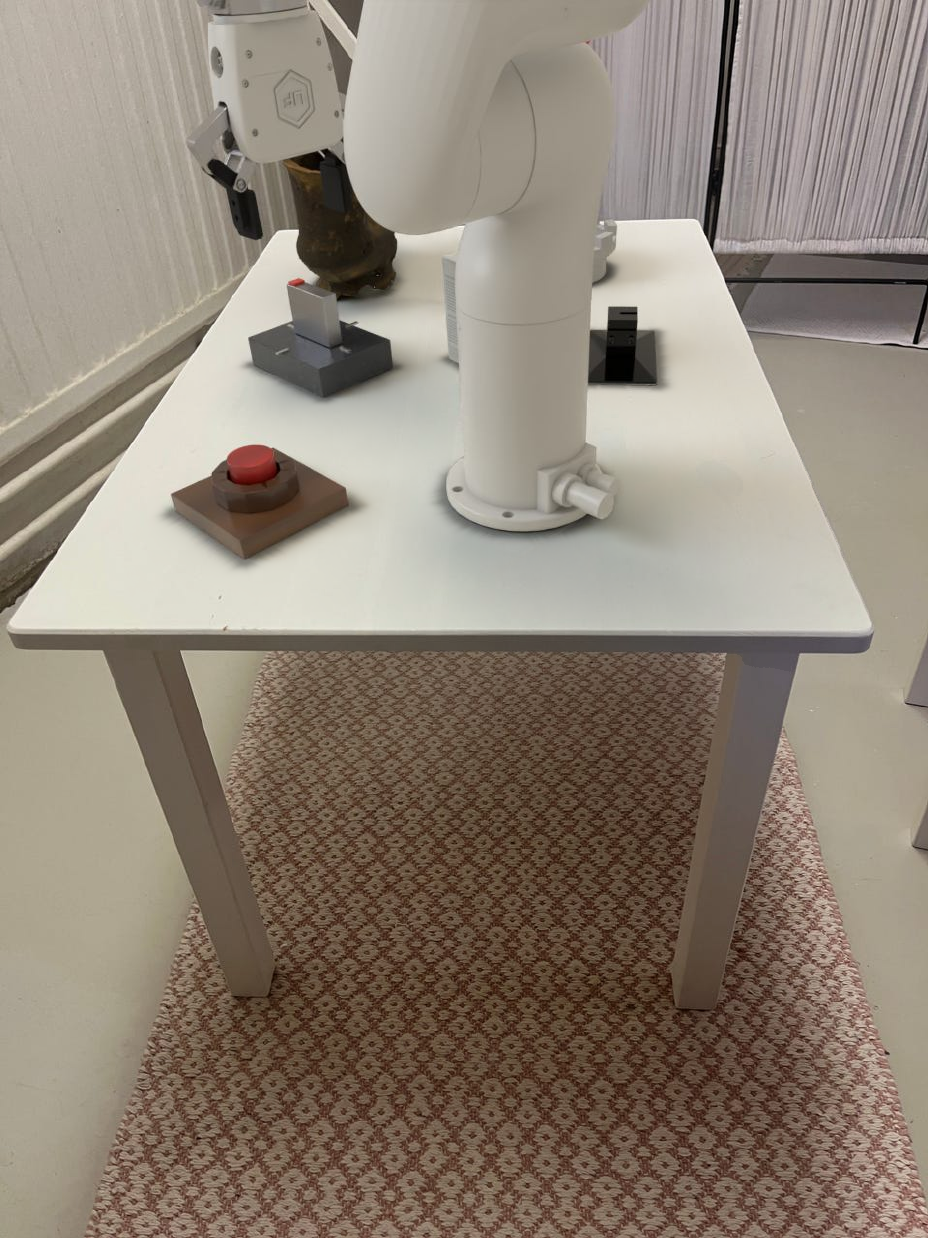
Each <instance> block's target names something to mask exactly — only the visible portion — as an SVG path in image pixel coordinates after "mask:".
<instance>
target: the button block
mask: <svg viewBox="0 0 928 1238" xmlns="http://www.w3.org/2000/svg"><path fill="white" fill-rule="evenodd" d="M270 448H271V449H272V450H273V452H274V457H275V462H276V467H277V475H276V476H275V477H274V478H272V479H270V480H268V481H266V482H264V483H260V484H254V485H239V484H235V483H234V482H233V481H232V480H231V476H230V471H229V467H228V463H227V459H225V460H222V461H221V462H220V463H219V464H218V465H217V466H216V467H215V468H214V469H213V471H211V473H210V475H208V476H207V477H204V478H203V479H200V480H198V481H196V482H194V483H191V484H189V485H187V486H185V487H183V488H181V489H179V490H176V491H174V492H172V493H170V496H171V497H170V498H171V501H172V504H173V507H174V511H175V512H176V513H177V514H179V515H180V516H181V517H183V518H184V519H186V520H187V521H189V522H190V523H192V524H193V525H194V526H196V528H198V529H200V530H202V531H203V532H205V533H206V534H208V535H209V536H210V537H212V538H213V539H215V540H216V541H217V542H219V543H220V544H221V545H223V546H225V547H226V548H227V549H228V550H230V551H232V552H233V553H234V554H236V555H237V556H239V557H240V558H242V559H243V560H246V559H248V558H250V557H251V556H254V555H256V554H258V553H260V552H261V551H264V550H265V549H267V548H270V547H272V546H274V545H275V544H277V543H279V542H281V541H283V540H284V539H287V538H288V537H291V536H292V535H294V534H297V533H298V532H300V531H302V530H304V529H306V528H308V527H309V526H312V525H313V524H315V523H317V522H319V521H321V520H323V519H325V518H326V517H329V516H331V515H333V514H334V513H337V512H338V511H341V510H342V509H344V508H346V507H348V506H349V500H348V492H347V487H346V486H344V485H342V484H340V483H338V482H336V481H334V480H333V479H331V478H329V477H328V476H326V475H323V474H322V473H320V472H318V471H316V470H315V469H313V468H311V467H309V466H307V465H306V464H304V463H302V462H300V461H298V460H297V459H295V458H293V457H292V456H289V455H288V454H286V453H284V452H282V451H280V450H279V449H277V448H275V447H270Z"/></svg>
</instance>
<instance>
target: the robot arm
mask: <svg viewBox="0 0 928 1238" xmlns="http://www.w3.org/2000/svg"><path fill="white" fill-rule="evenodd" d="M195 1H196V3H197V5H198V6H199V7H201V8H202V7H208V8H209V11H210V14H212V19H213V21H210V22H207V52H208V54H207V55H208V56H207V57H208V69H209V79H210V88H211V95H212V103H213V112H211V114H209V115H208V116H207V118H205V120H204V121H202V123H201V124H200V125H198V127H197V128H196V129H195V130H194V131H192V133H190V135H189V136H188V137H187V138H186V142H185V143H186V146H187V149H188V150H189V151H190V152H191V155H192V156H193V157H194V158H195V160H196V161H197V162H198V164H199V165H200V166H201V169H202V171H203V172H204V173H205V174H206V175H207V176H208V177H210V178H211V179H213V180H214V181H215V182H216V183H218V185H219V186H220V187H221V188H222V189H225V190H226V196H227V200H228V206H229V211H230V216H231V221H232V224H233V227H234V228H235V229H236V231H237V234H238V235H239V236H241V237H244V238H247V239H250V240H253V241H258V240H262V238H263V237H264V232H263V227H262V221H261V216H260V215H261V214H260V211H259V204H258V200H257V194H256V191H254V190H253V189H251V188H249V184H250V181H251V179H252V177H253V174H254V172H255V169H256V168H257V164H269V163H275V162H279V161H282V160H283V159H287V158H292V157H295V156H299V155H303V154H307V153H311V152H315V151H318V152H319V153H320V154H321V155H322V156H323V157H324V158H325V161H323V162H320V173H321V179H322V186H323V193H324V200H325V206H326V208H328V209H330V210H334V211H338V212H342V213H348V212H351V202H350V196H351V195H350V186H349V179H350V182H351V185H352V188H353V190H354V192H355V195H356V197H357V199H358V201H359V202H360V204H361V206H362V207H363V209H364V210H365V211H366V212H367V213H368V215H369V216H370V217H371V218H372V219H373V220H374V221H376V222H377V223H378V224H379V225H381V226H383V227H384V228H386V229H389V230H391V231H393V232H395V234H396V233H397V234H402V235H407V236H422V235H423V236H424V235H429V234H434V233H439V232H442V231H446V230H450V229H455V228H457V227H460V226H463V225H464V227H463V229H462V233H461V237H460V241H459V243H458V249H457V252H458V254H457V260H456V268H455V297H456V319H457V337H458V355H459V364H458V370H459V371H458V372H459V390H460V392H459V393H460V407H461V409H460V410H461V427H462V444H463V447H462V448H463V456H462V457H461V458H460V459H458V460H457V461H456V462H455V463H454V464H453V465H452V466H451V468H450V469H449V470H448V472H447V475H446V478H445V483H446V484H445V488H446V495H447V500H448V501H449V504H450V506H451V507H452V508H453V509H454V510H455V511H456V512H457V513H458V514H459V515H461V516H463V517H464V518H466V519H467V520H468V521H471V522H474V523H475V524H478V525H480V526H484V527H487V528H490V529H494V530H500V531H501V530H502V531H507V532H537V531H538V532H539V531H545V530H550V529H551V530H552V529H556V528H559V527H563V526H565V525H568V524H572V523H573V522H575V521H578V520H580V519H581V518H584V516H586V515H587V514H589V515H590V516H592V517H595V518H597V519H599V520H604V519H606V518H608V516H609V515H610V514H611V513H612V511H613V510H614V509H613V508H614V505H615V498H614V497H615V496H616V495H617V494H618V492H619V491H620V488H621V480H620V479H619V478H616V477H615V476H611V475H609V474H607V473H603V471H602V470H601V467H600V466H599V465H598V463H597V446H595V445H593V444H590V443H588V442H587V441H586V438H587V418H588V417H587V415H588V414H587V413H588V391H589V390H588V389H589V384H588V366H589V341H590V330H591V317H592V316H591V312H592V296H593V283H592V276H593V258H594V245H595V234H596V225H597V218H598V214H599V211H600V206H601V200H602V194H603V189H604V185H605V182H606V177H607V172H608V169H609V164H610V159H611V155H612V150H613V145H614V144H613V143H614V136H615V128H616V103H615V95H614V89H613V85H612V81H611V78H610V76H609V72H608V71H607V68H606V66H605V64H604V62H603V61H602V60H601V58H600V56H599V54H597V52H596V51H595V50H594V49H593V48H592V47H591V46H590V45H589V43H588V44H586V43H585V42H588V41H590V42H592V41H595V40H600V39H603V38H606V37H609V36H611V35H614V34H616V33H618V32H620V31H622V30H623V29H625V28H627V27H629V26H630V25H631V24H632V23H633V22H634V21H635V20H636V19H638V17H639V16H640V15H641V14H642V13H643V12H644V10H645V9H646V8H647V6H648V5H649V3H650V1H651V0H363V3H362V4H363V5H362V9H361V14H360V20H359V24H358V25H359V26H358V29H357V35H356V41H355V46H354V52H353V56H352V62H351V67H350V73H349V77H348V78H349V79H348V84H347V90H346V94H345V93H343V92H341V91H339V87H338V83H337V78H336V77H337V76H336V72H335V69H334V64H333V58H332V55H331V51H330V47H329V43H328V40H327V37H326V33H325V29H324V27H323V25H322V21H321V18H320V16H319V13H318V10H314V9H313V10H311V9H309V6H308V5H309V4H308V0H195ZM219 139H220V143H221V147H222V149H223V151H224V153H225V154H226V155H225V158H224V161H222V160H220V159H219V158H218V156H217V153H216V152H215V150H214V145H215V143H216V142H217V140H219ZM348 175H349V178H348Z"/></svg>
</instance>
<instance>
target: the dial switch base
mask: <svg viewBox="0 0 928 1238" xmlns="http://www.w3.org/2000/svg"><path fill="white" fill-rule="evenodd" d="M339 322H340V329H341V337H342V343H341V344H339V345H336V346H334V347H331V348H329V347H327V346H324V345H322V344H320V343H317V342H315V341H313V340H311V339H308V338H306V337H304V336H301V335H299V334H297V333H295V332H294V326H293V320H291V321H288V322H286V323H283V324H280V325H278V326H275V327H272V328H269V329H267V330H265V331H262V332H259V333H256V334H253V335H250V336H249V337H247V338H248V339H247V340H248V345H249V348H250V354H251V360H252V364H253V365H254V367H257V368H259V369H261V370H264V372H265V371H266V372H268V373H269V374H272V375H274V376H276V377H279V378H280V379H283V380H285V381H287V382H288V383H290V384H293V385H295V386H297V387H300V388H301V389H304V390H306V391H308V392H310V393H312V394H314V395H316V396H319V397H320V398H323V399H324V398H328V397H329V396H331V395H333V394H336V393H339V392H340V391H342V390H345V389H348V388H350V387H351V386H354V385H357V384H359V383H362V382H364V381H367V380H368V379H371V378H373V377H376V376H378V375H380V374H382V373H384V372H387V371H389V370H391V369H393V368H394V362H393V353H392V343H391V339H389V338H386V337H384V336H381V335H379V334H376V333H374V332H372V331H370V330H369V331H368V330H366V329H364V328H361V327H359V326H356V325H358V324H359V321H353V322H350V323H348V322H346V321H343V320H341V319H339Z"/></svg>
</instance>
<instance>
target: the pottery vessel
mask: <svg viewBox="0 0 928 1238" xmlns="http://www.w3.org/2000/svg"><path fill="white" fill-rule="evenodd" d="M281 161H282V165H284V167H285V168H286V171H287V174H288V178H289V182H290V186H291V191H292V195H293V202H294V207H295V212H296V213H295V214H296V219H297V225H298V226H297V227H298V234H297V239H296V242H295V249H296V253H297V256H298V259H299V260H300V261H301V263H303V265H305V267H306V268H307V269H308V270H309V271H310V272H312V273H313V274H314V275H316V276H318V277H319V278H318V279H317V280H316V284H315V286H317V287H319V288H322V289H325V290H328V291H330V292H333V293H335V294H336V300H338V299H339V297H340V296H346V297H357V295H358V294H359V292H360V291H361V289H363V288H365V287H370V288H372V291H375V290H378V291H382V292H383V291H386V290H388V288H389V287H390V286H391V285H392V284H393V282H394V281H395V279H396V278H397V273H396V271H395V269H394V267H393V261H394V260H395V258H396V255H397V253H398V238H396V232H393V231H391V230H389V229H386V228H384V227H383V226H381V225H379V224H378V223H377V222H376V221H374V220H373V219H372V218H371V217H370V216H369V215H368V213H367V212H366V211H365V210H364V209H363V207H362V206H361V204H360V202H359V201H358V199H357V197H356V195H355V192H354V190H353V188H352V185H351V182H350V179H349V186H350V195H351V196H350V202H351V212H348V213H342V212H338V211H334V210H330V209H328V208H326V206H325V200H324V193H323V186H322V179H321V173H320V162H323V161H325V158H324V157H323V156H322V155H321V154H320V153H319V152H318V151H315V152H311V153H307V154H303V155H299V156H295V157H292V158H287V159H283V160H281ZM348 178H349V175H348Z"/></svg>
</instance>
